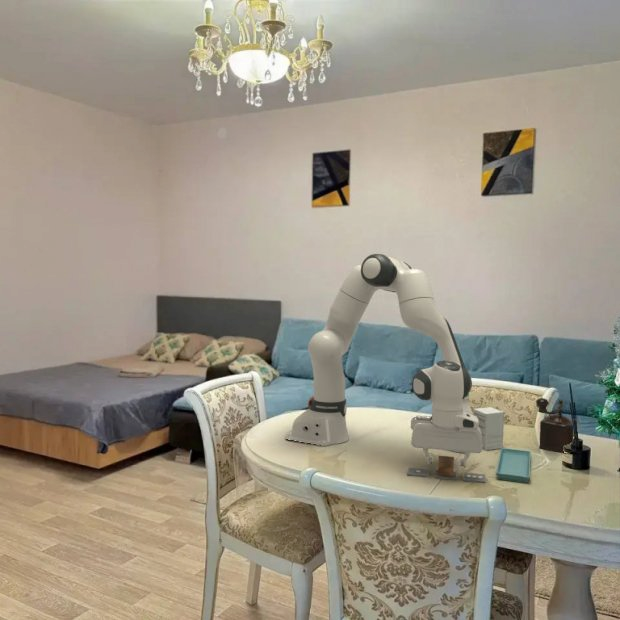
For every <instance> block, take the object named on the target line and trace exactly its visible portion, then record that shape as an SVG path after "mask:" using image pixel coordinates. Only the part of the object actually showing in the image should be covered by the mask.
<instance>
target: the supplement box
mask: <svg viewBox="0 0 620 620" xmlns="http://www.w3.org/2000/svg"><path fill="white" fill-rule="evenodd" d="M472 414H473V415H474V416H476V417H477V418H478V420H479V425H478V426H479V428H480V430H481V435H482V443H483V450H482V451H490V450H499V449H500V450H501V448H504V422H505V420H504V419H505V415H504V414H505V412H504V411H503V410H500V409H497V408H494V407H493V406H492V407H490V406H488V407H479V408H473V411H472Z"/></svg>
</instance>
